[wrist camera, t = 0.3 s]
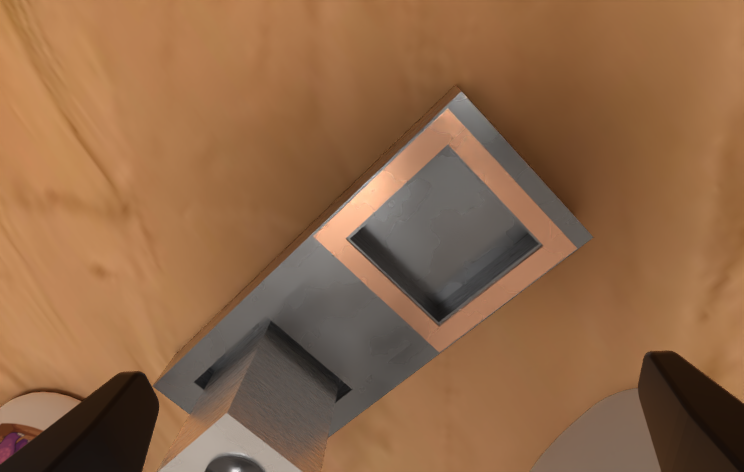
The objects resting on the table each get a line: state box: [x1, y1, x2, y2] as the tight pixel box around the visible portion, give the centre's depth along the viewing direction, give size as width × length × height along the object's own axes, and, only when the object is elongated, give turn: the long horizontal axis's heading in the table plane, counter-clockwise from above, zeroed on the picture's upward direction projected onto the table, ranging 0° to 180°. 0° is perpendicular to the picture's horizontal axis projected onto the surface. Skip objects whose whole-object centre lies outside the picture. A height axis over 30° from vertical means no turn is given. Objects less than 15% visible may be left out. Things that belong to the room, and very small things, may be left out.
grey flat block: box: [153, 85, 593, 437], centre depth 24 cm, size 20×8×3 cm, turn 135°
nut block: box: [157, 318, 340, 472], centre depth 23 cm, size 4×4×7 cm
